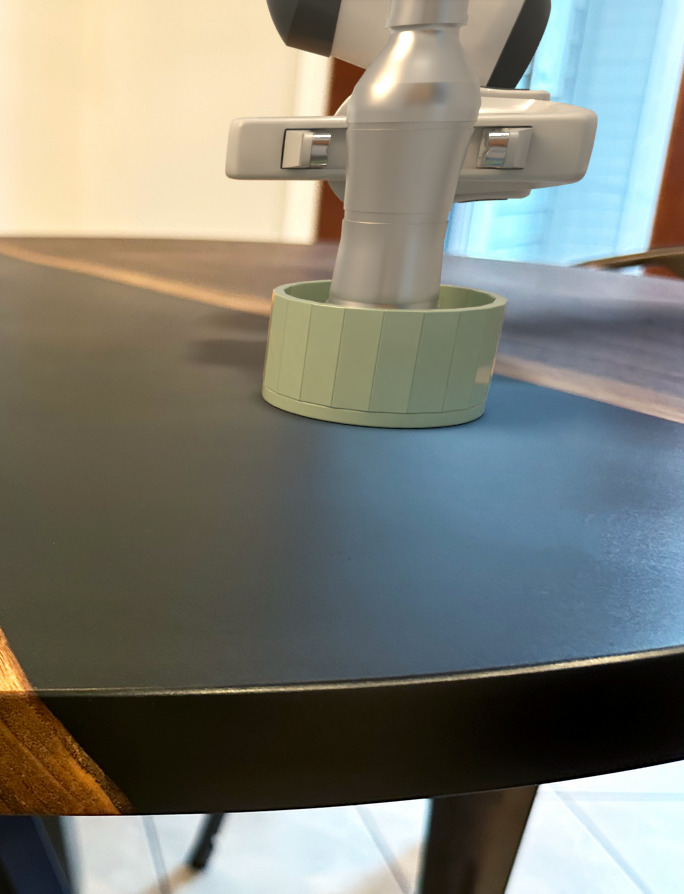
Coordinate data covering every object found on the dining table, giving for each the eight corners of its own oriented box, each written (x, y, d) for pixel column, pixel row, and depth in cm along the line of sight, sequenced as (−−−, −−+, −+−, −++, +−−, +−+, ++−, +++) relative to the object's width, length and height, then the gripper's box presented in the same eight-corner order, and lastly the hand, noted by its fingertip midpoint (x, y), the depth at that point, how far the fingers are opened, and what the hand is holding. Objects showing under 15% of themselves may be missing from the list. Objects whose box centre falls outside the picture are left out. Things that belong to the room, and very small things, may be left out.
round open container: (416, 375, 64) (433, 277, 62) (530, 425, 53) (557, 308, 51) (232, 380, 63) (243, 281, 61) (311, 431, 52) (327, 313, 50)
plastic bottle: (438, 380, 59) (511, -12, 51) (421, 405, 54) (499, -28, 46) (323, 369, 62) (375, -3, 54) (296, 392, 57) (349, -16, 49)
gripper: (237, 97, 70) (217, 91, 58) (575, 90, 63) (632, 81, 51) (227, 194, 72) (207, 208, 60) (552, 197, 66) (601, 213, 54)
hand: (406, 150), depth 56 cm, fingers open, 8 cm apart
